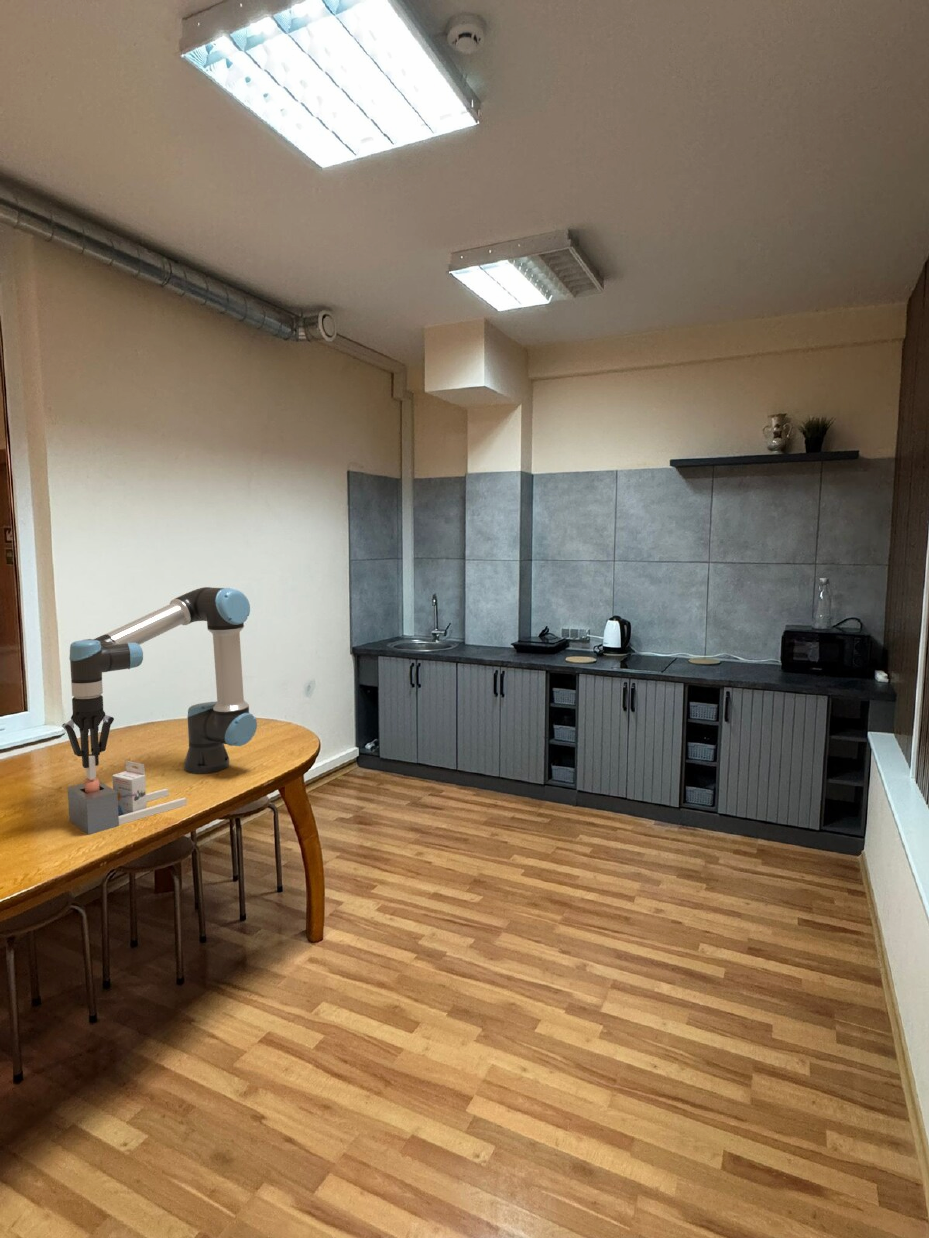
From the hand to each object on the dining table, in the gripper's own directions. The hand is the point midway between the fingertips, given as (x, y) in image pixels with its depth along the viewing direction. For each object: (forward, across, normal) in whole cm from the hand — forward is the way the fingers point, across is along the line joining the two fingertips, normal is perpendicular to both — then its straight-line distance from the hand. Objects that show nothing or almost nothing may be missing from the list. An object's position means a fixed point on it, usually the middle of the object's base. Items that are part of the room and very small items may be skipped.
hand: (91, 777), depth 188 cm
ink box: (+14, -10, 0) cm, 17 cm away
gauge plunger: (+6, 0, 0) cm, 6 cm away
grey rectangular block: (+13, 0, 0) cm, 13 cm away
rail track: (+13, -14, 0) cm, 19 cm away
